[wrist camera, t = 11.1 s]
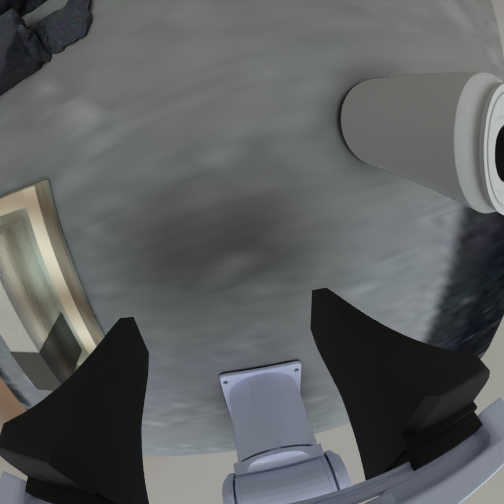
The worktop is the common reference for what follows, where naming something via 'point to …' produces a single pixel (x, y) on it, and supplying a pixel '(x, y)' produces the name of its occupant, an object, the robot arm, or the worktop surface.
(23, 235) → the grey rectangular block
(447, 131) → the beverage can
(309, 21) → the worktop surface
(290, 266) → the worktop surface
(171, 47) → the worktop surface
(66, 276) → the beige rectangular tray
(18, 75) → the dark slate chunk
